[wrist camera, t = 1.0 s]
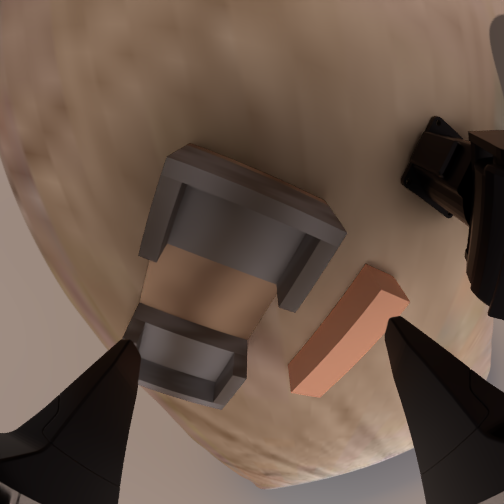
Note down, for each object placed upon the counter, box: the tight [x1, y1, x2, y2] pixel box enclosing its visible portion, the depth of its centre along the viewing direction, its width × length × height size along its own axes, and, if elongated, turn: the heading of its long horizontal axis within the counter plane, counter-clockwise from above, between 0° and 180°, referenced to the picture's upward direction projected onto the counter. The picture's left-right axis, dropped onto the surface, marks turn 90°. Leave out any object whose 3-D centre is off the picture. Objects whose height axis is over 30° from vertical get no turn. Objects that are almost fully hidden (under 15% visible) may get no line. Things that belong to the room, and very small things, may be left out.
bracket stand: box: [123, 143, 347, 410], centre depth 21 cm, size 10×20×6 cm, turn 156°
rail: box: [288, 264, 410, 398], centre depth 24 cm, size 14×4×4 cm, turn 156°
